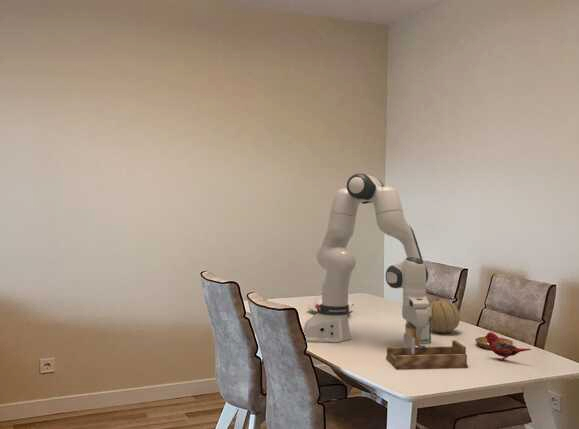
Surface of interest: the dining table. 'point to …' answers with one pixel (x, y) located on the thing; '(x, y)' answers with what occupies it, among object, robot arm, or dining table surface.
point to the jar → (412, 333)
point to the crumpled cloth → (319, 301)
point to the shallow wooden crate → (429, 357)
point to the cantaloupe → (444, 316)
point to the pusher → (410, 345)
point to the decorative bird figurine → (502, 347)
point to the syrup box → (427, 330)
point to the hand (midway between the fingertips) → (414, 334)
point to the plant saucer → (483, 342)
